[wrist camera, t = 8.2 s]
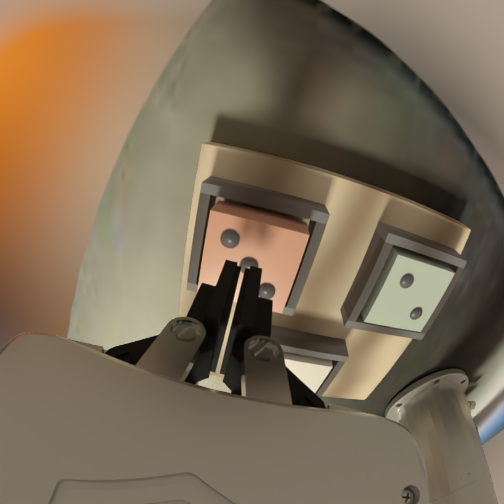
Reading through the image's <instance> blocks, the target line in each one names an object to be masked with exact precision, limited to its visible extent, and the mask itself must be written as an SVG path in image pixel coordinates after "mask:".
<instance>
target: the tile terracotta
mask: <svg viewBox="0 0 504 504" xmlns="http://www.w3.org/2000/svg"><path fill="white" fill-rule="evenodd" d="M308 238H309V230H308V226H307V222H304V221H301V220H297V219H293V218H289V217H286V216H282V215H278V214H274V213H270V212H266V211H262V210H258V209H254V208H250V207H246V206H242V205H238V204H234V203H230V202H225V201H221V200H218V202H217V203H216V204H215V205H214V206H213V207H212V209H211V210H210V215H209V220H208V226H207V232H206V238H205V244H204V250H203V256H202V263H201V269H200V276H199V283H198V290H199V288H200V286H201V284H202V283H206V284H209V285H213V286H216V284H217V281H218V279H219V276H220V274H221V271H222V268H223V266H224V263H225V261H226V260H230V261H234V262H238V264H237V266H241V271H240V275H239V280H238V284H237V288H236V292H235V296H234V301H233V302H236V303H237V299H238V295H239V291H240V287H241V283H242V279H243V275H244V271H245V268H249V269H250V266H254V267H258V268H262V276H261V283H260V291H259V297H262V298H266V299H270V300H273V308H272V311H273V312H277V313H282V312H283V309H284V307H285V304H286V301H287V299H288V296H289V293H290V290H291V288H292V285H293V282H294V279H295V276H296V273H297V271H298V268H299V265H300V262H301V259H302V256H303V253H304V250H305V247H306V244H307V241H308ZM198 290H197V292H198Z"/></svg>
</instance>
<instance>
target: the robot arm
mask: <svg viewBox="0 0 504 504" xmlns="http://www.w3.org/2000/svg"><path fill="white" fill-rule="evenodd" d="M237 264H238V262H234V261H230V260H226V261H225V263H224V266H223V268H222V271H221V274H220V276H219V279H218V281H217V284H216V286H213V285H209V284H206V283H202V284H201V286H200V288H199V290H198V292H197V294H196V296H195V298H194V301H193V303H192V305H191V307H190V309H189V312H188V314H187V316H186V317H177V318H175V319H172V320H171V321H170V322H169V323H168V324H167V325H166V327H165V328H164V329H163V330H162V332H161V333H160V334H159V335H157V336H153V337H150V338H146V339H142V340H139V341H135V342H131V343H128V344H124V345H120V346H116V347H113V348H111V349H109V350H104V348H103V347H102V346H97V345H92V344H88V343H83V342H79V341H74V340H70V339H66V338H63V337H60V336H56V335H52V334H47V333H39V332H26V333H22V334H19V335H18V336H16V337H14V338H13V339H12V340H10V341H9V342H8V343H7V344H6V345H5V346H4V347H3V348H2V349H1V350H0V504H498V502H497V498H496V495H495V491H494V486H493V482H492V478H491V475H490V471H489V467H488V464H487V460H486V457H485V454H484V450H483V447H482V444H481V441H480V438H479V435H478V432H477V430H476V427H475V424H474V421H473V419H472V416H471V413H470V410H472V409H474V408H475V405H476V403H475V401H467V398H466V396H465V394H464V393H465V391H466V389H467V387H468V383H469V381H468V377H467V375H466V373H465V372H464V371H463V370H460V369H446V370H442V371H439V372H436V373H433V374H431V375H428V376H426V377H424V378H422V379H420V380H418V381H417V382H415V383H413V384H411V385H410V386H408V387H407V388H406V389H404V390H403V391H402V392H400V393H399V394H398V395H397V396H396V397H395V398H394V399H393V400H392V401H391V402H390V404H389V405H388V406H387V408H386V410H385V417H381V416H377V415H373V414H368V413H364V412H360V411H356V410H353V409H349V408H345V407H342V406H338V405H335V404H332V403H330V404H329V405H326V404H324V402H323V401H322V400H321V399H320V397H318V396H317V395H316V394H315V393H314V392H313V391H312V390H311V389H310V388H309V387H307V386H306V385H305V384H304V383H303V382H302V381H301V380H300V379H299V378H298V377H297V376H296V375H295V374H294V373H293V372H291V371H290V370H289V369H288V368H287V367H286V365H285V359H284V354H283V350H282V347H281V346H280V344H279V343H278V342H277V341H275V340H274V339H272V338H271V324H272V308H273V300H270V299H266V298H262V297H259V291H260V283H261V276H262V268H258V267H254V266H250V269H249V268H245V271H244V275H243V279H242V283H241V287H240V291H239V295H238V299H237V303H236V307H235V311H234V315H233V320H232V324H231V328H230V332H229V336H228V340H227V344H226V348H225V353H224V357H223V361H222V365H221V369H220V373H219V374H223V375H224V379H223V382H224V383H225V384H226V385H227V386H228V388H229V389H230V392H229V393H227V392H223V391H218V390H214V389H210V388H206V387H202V386H199V385H198V381H201V380H203V379H206V378H209V375H210V371H211V372H214V373H215V372H216V368H217V364H218V360H219V356H220V352H221V348H222V344H223V341H224V337H225V333H226V329H227V325H228V321H229V317H230V313H231V309H232V305H233V301H234V296H235V292H236V288H237V284H238V280H239V275H240V271H241V266H237Z"/></svg>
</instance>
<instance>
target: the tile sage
mask: <svg viewBox="0 0 504 504" xmlns="http://www.w3.org/2000/svg"><path fill="white" fill-rule="evenodd" d="M454 274H455V273H454V272H453V271H452V269H451V268H450V267H449V266H448V265H447V264H446V263H445V262H444V261H441V260H438V259H435V258H432V257H429V256H426V255H423V254H420V253H417V252H414V251H411V250H408V249H405V248H402V247H399V246H396V245H393V246H392V248H391V251H390V253H389V255H388V257H387V260H386V262H385V264H384V266H383V268H382V271H381V273H380V275H379V277H378V279H377V281H376V283H375V285H374V287H373V289H372V291H371V293H370V295H369V297H368V299H367V301H366V303H365V305H364V307H363V309H362V311H361V315H362V318H363V321H364V322H367V323H372V324H378V325H383V326H389V327H394V328H400V329H406V330H412V331H418V332H421V330H422V329H423V327H424V326H425V324H426V323H427V321H428V320H429V318H430V316H431V315H432V313H433V312H434V310H435V308H436V307H437V305H438V303H439V301H440V300H441V298H442V296H443V294H444V293H445V291H446V289H447V287H448V285H449V284H450V282H451V280H452V278H453V276H454Z"/></svg>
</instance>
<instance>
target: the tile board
mask: <svg viewBox="0 0 504 504" xmlns="http://www.w3.org/2000/svg"><path fill="white" fill-rule="evenodd" d="M218 200H221V201H225V202H230V203H234V204H238V205H242V206H246V207H250V208H254V209H258V210H262V211H266V212H270V213H274V214H278V215H282V216H286V217H289V218H293V219H297V220H301V221H304V222H307V226H308V230H309V238H308V241H307V244H306V247H305V250H304V253H303V256H302V259H301V262H300V265H299V268H298V271H297V273H296V276H295V279H294V282H293V285H292V288H291V290H290V293H289V296H288V299H287V301H286V304H285V307H284V309H283V312H282V313H277V312H273V311H272V324H271V338H272V339H274V340H275V341H277V342H278V343H279V344H280V346H281V347H282V350H283V351H285V352H290V353H295V354H300V355H306V356H311V357H317V358H323V359H329V360H332V366H333V367H332V369H331V370H330V372H329V373H328V375H327V376H326V378H325V379H324V381H323V382H322V384H321V385H320V387H319V388H318V390H317V391H316V393H315V394H316V395H317V396H318V397H320V398H321V396H328V397H337V398H348V399H361V400H365V399H366V398H367V397H368V395H369V394H370V393H371V392H372V391H373V390H374V388H375V387H376V386H377V385H378V384H379V382H380V381H381V380H382V379H383V377H384V376H385V375H386V374H387V372H388V371H389V370H390V369H391V367H392V366H393V365H394V363H395V362H396V361H397V359H398V358H399V357H400V355H401V354H402V353H403V351H404V350H405V348H406V347H407V346H408V344H409V343H410V341H411V340H412V338H413V339H420V340H422V338H423V337H424V335H425V334H426V332H427V331H428V329H429V328H430V326H431V325H432V323H433V322H434V320H435V318H436V317H437V315H438V314H439V312H440V310H441V309H442V307H443V305H444V304H445V302H446V300H447V299H448V297H449V295H450V293H451V292H452V290H453V288H454V286H455V284H456V282H457V281H458V279H459V277H460V275H461V273H462V271H463V269H464V267H465V265H466V263H467V261H466V260H465V259H464V258H463V257H462V256H461V255H460V254H461V252H462V250H463V248H464V245H465V243H466V241H467V238H468V236H469V234H470V231H471V230H470V229H469V228H468V227H466V226H465V225H463V224H462V223H460V222H459V221H457V220H455V219H453V218H451V217H449V216H447V215H445V214H442V213H440V212H438V211H436V210H433V209H431V208H429V207H426V206H424V205H422V204H419V203H417V202H415V201H412V200H410V199H407V198H405V197H402V196H400V195H397V194H395V193H392V192H389V191H387V190H384V189H381V188H379V187H376V186H373V185H370V184H367V183H365V182H362V181H359V180H356V179H353V178H350V177H347V176H344V175H341V174H338V173H335V172H331V171H328V170H325V169H322V168H318V167H315V166H311V165H308V164H304V163H301V162H297V161H294V160H290V159H286V158H282V157H278V156H274V155H270V154H266V153H262V152H258V151H254V150H249V149H245V148H240V147H235V146H231V145H226V144H221V143H216V142H206V143H203V144H202V149H201V154H200V159H199V165H198V170H197V176H196V182H195V188H194V194H193V200H192V207H191V213H190V220H189V227H188V234H187V242H186V250H185V258H184V267H183V276H182V285H181V295H180V306H179V317H186V316H187V314H188V312H189V309H190V307H191V305H192V303H193V301H194V298H195V296H196V294H197V290H198V283H199V276H200V269H201V263H202V256H203V250H204V244H205V238H206V232H207V226H208V220H209V215H210V210H211V209H212V207H213V206H214V205H215V204H216V203H217V202H218ZM393 245H396V246H399V247H402V248H405V249H408V250H411V251H414V252H417V253H420V254H423V255H426V256H429V257H432V258H435V259H438V260H441V261H444V262H445V263H446V264H447V265H448V266H449V267H450V268H451V269H452V271H453V272H454V273H455V274H454V276H453V278H452V280H451V282H450V284H449V285H448V287H447V289H446V291H445V293H444V294H443V296H442V298H441V300H440V301H439V303H438V305H437V307H436V308H435V310H434V312H433V313H432V315H431V316H430V318H429V320H428V321H427V323H426V324H425V326H424V327H423V329H422V330H421V332H418V331H412V330H406V329H400V328H394V327H389V326H383V325H378V324H372V323H367V322H364V321H363V318H362V315H361V311H362V309H363V307H364V305H365V303H366V301H367V299H368V297H369V295H370V293H371V291H372V289H373V287H374V285H375V283H376V281H377V279H378V277H379V275H380V273H381V271H382V268H383V266H384V264H385V262H386V260H387V257H388V255H389V253H390V251H391V248H392V246H393ZM235 307H236V302H233V305H232V309H231V313H230V317H229V321H228V325H227V329H226V333H225V337H224V341H223V344H222V348H221V352H220V356H219V360H218V364H217V368H216V372H215V373H214V372H211V371H210V375H214V376H218V377H222V378H224V375H223V374H219V373H220V369H221V365H222V361H223V357H224V353H225V348H226V344H227V340H228V336H229V332H230V328H231V324H232V320H233V315H234V311H235Z"/></svg>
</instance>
